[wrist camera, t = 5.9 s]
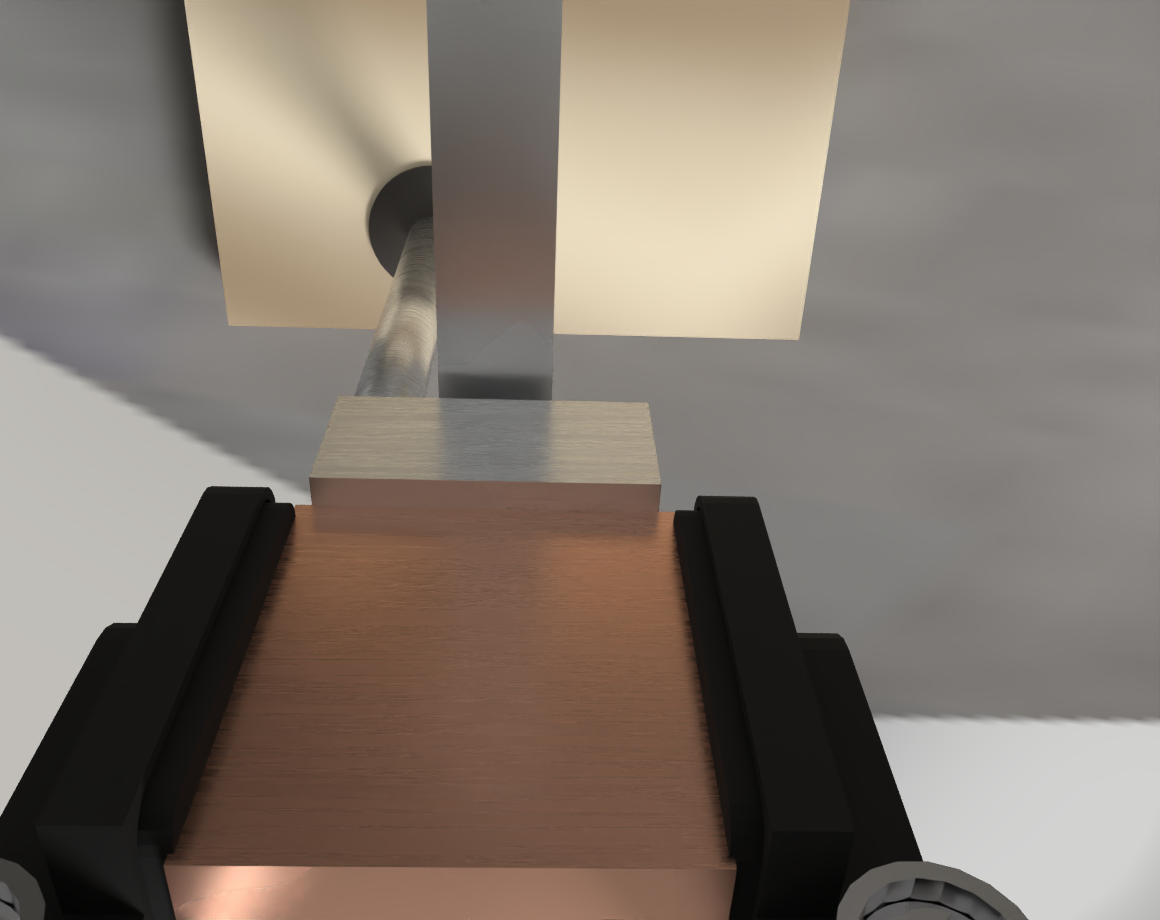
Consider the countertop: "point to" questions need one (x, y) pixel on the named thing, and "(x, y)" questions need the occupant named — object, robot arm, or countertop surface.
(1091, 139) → the countertop surface
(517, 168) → the divider frame
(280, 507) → the robot arm
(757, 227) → the hole plate
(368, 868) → the slider block
